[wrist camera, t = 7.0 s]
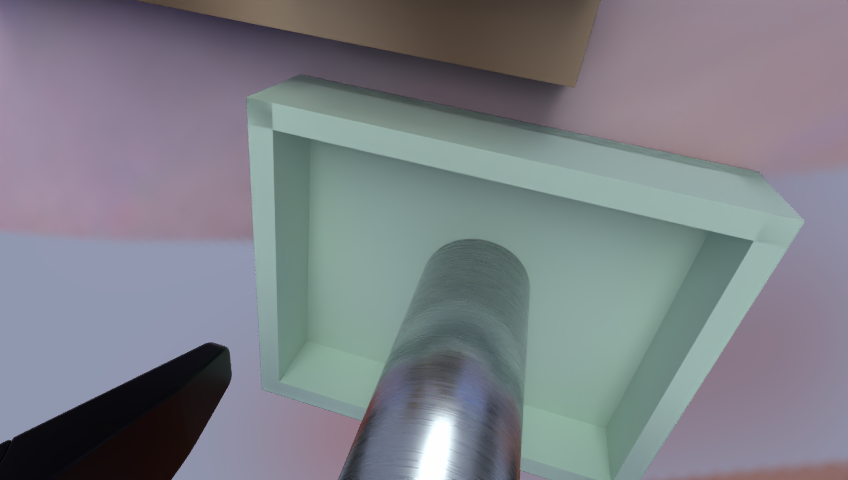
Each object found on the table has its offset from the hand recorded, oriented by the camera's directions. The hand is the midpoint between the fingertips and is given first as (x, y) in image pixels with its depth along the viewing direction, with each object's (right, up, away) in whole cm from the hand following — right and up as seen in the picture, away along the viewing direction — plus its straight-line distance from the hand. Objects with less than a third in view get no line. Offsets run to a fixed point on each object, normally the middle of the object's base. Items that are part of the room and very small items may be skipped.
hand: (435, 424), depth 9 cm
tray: (+1, +3, +5) cm, 6 cm away
